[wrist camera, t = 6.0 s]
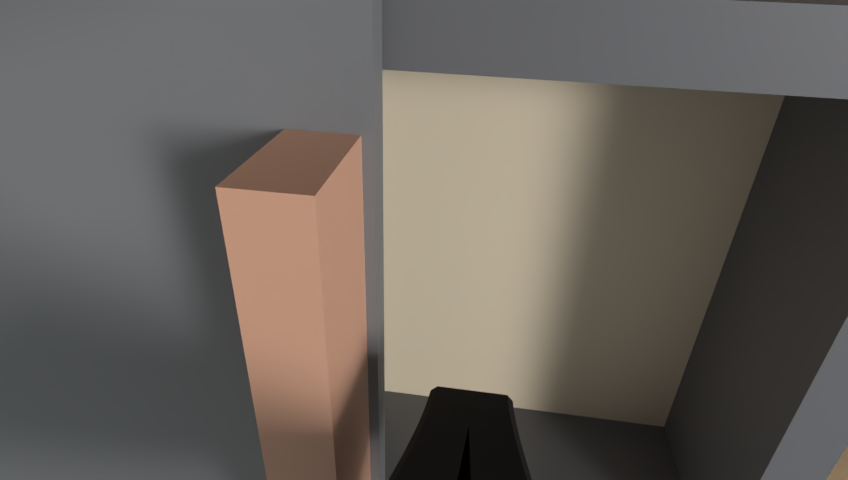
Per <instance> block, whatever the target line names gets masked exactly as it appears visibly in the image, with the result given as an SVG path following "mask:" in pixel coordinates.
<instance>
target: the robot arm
mask: <svg viewBox="0 0 848 480" xmlns="http://www.w3.org/2000/svg"><path fill="white" fill-rule="evenodd" d="M389 480H532V478H531V475H530V472H529V469H528V465H527V462H526V458H525V455H524V452H523V448H522V444H521V441H520V437H519V433H518V428H517V424H516V419H515V414H514V408H513V401H512V400H511V399H510V398H509V397H508V395H503V394H495V393H487V392H479V391H471V390H463V389H455V388H447V387H439V386H437V387H435V388H434V389H432V390H431V391H430V394H429V397H428V401H427V403H426V406H425V408H424V411H423V413H422V416H421V418H420V421H419V423H418V425H417V427H416V429H415V431H414V433H413V435H412V437H411V439H410V441H409V443H408V445H407V447H406V449H405V451H404V453H403V455H402V457H401V459H400V460H399V462H398V464H397V466H396V467H395V469H394V471H393V473H392V475H391V476H390V478H389Z"/></svg>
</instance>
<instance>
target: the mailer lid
mask: <svg viewBox="0 0 848 480" xmlns="http://www.w3.org/2000/svg"><path fill="white" fill-rule="evenodd" d="M0 480H385V380H384V234H383V87H382V0H0Z"/></svg>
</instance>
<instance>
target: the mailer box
mask: <svg viewBox="0 0 848 480" xmlns="http://www.w3.org/2000/svg"><path fill="white" fill-rule="evenodd" d="M382 87H383V234H384V380H385V480H389V478H390V476H391V475H392V473H393V471H394V469H395V467H396V466H397V464H398V462H399V460H400V459H401V457H402V455H403V453H404V451H405V449H406V447H407V445H408V443H409V441H410V439H411V437H412V435H413V433H414V431H415V429H416V427H417V425H418V423H419V421H420V418H421V416H422V413H423V411H424V408H425V406H426V403H427V401H428V397H429V394H430V391H431V390H432V389H434V388H435V387H437V386H439V387H447V388H455V389H463V390H471V391H479V392H487V393H495V394H503V395H508V397H509V398H510V399H511V400H512V401H513V408H514V414H515V419H516V424H517V428H518V433H519V437H520V441H521V444H522V448H523V452H524V455H525V458H526V462H527V465H528V469H529V472H530V475H531V478H532V480H826V479H827V477H828V476H829V474H830V472H831V471H832V469H833V468H834V466H835V464H836V463H837V461H838V460H839V458H840V456H841V455H842V453H843V452H844V450H845V448H846V447H847V445H848V0H382Z"/></svg>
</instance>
